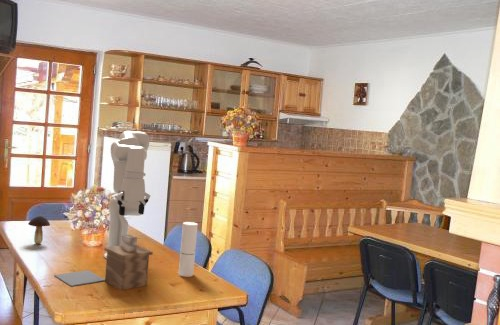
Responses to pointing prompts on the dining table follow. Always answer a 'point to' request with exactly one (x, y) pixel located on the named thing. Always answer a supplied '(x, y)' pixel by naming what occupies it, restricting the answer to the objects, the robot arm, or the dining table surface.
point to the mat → (79, 278)
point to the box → (126, 271)
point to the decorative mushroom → (39, 228)
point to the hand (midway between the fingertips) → (131, 214)
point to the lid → (128, 248)
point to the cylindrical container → (188, 249)
